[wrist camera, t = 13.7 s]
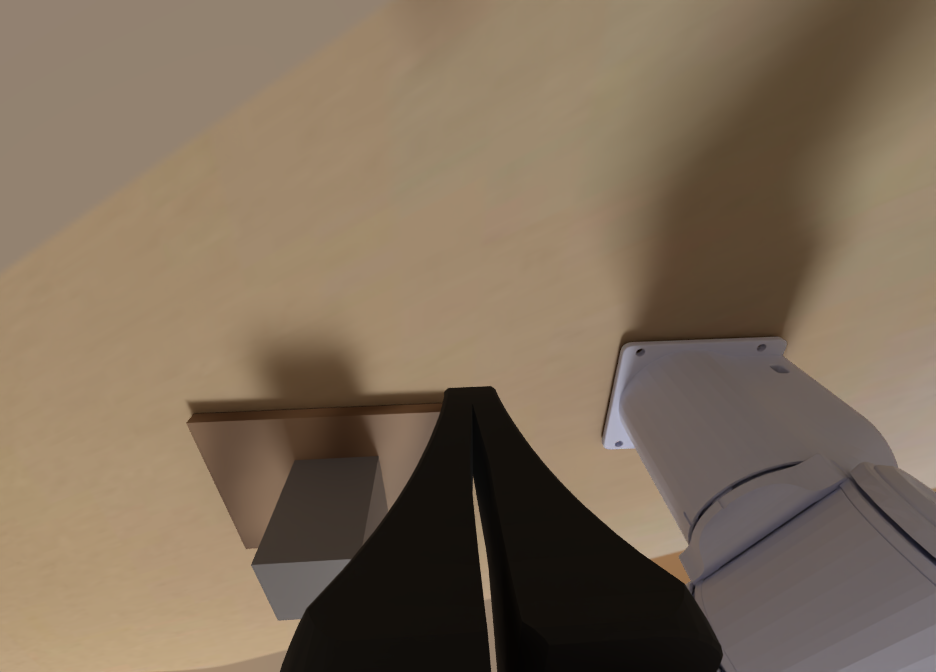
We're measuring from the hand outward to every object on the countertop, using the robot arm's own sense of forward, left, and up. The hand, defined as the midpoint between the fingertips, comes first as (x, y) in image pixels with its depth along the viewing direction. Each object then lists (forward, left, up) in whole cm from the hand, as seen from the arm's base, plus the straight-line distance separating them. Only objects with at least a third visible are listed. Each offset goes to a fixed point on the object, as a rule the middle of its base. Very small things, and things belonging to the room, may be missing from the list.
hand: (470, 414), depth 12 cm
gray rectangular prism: (+8, +14, -10) cm, 19 cm away
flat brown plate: (+8, +14, -10) cm, 19 cm away
